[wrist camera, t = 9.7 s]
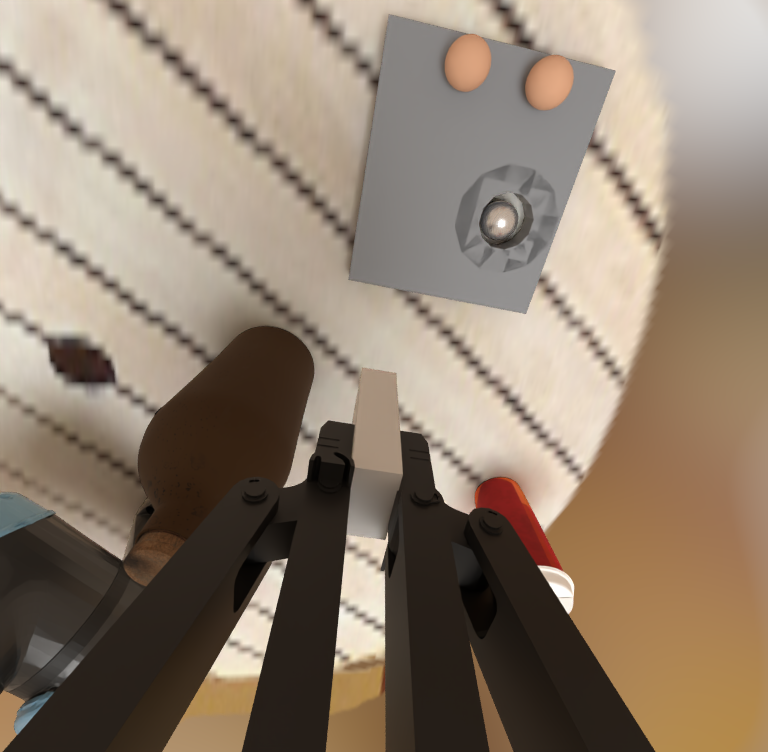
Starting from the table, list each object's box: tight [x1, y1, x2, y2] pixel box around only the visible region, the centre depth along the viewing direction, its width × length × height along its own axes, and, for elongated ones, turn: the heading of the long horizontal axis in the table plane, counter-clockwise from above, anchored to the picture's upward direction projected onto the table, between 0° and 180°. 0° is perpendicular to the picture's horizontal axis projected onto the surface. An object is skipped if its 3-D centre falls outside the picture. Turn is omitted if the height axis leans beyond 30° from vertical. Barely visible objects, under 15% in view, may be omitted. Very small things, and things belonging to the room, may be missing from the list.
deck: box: [349, 14, 615, 314], centre depth 34 cm, size 17×19×2 cm
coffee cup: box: [475, 477, 574, 614], centre depth 45 cm, size 8×8×15 cm
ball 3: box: [525, 55, 574, 110], centre depth 29 cm, size 3×3×3 cm
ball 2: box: [480, 201, 518, 240], centre depth 35 cm, size 3×3×3 cm
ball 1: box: [445, 34, 491, 92], centre depth 28 cm, size 3×3×3 cm
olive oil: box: [124, 326, 314, 586], centre depth 33 cm, size 11×11×25 cm
